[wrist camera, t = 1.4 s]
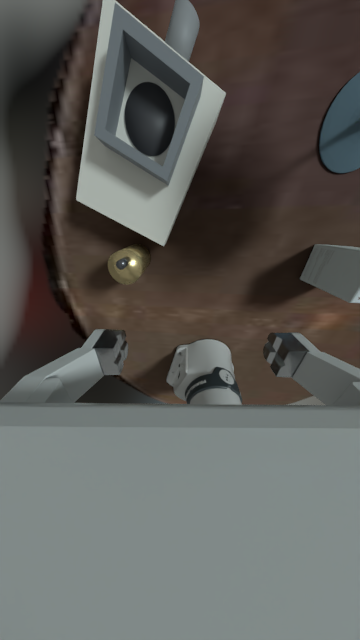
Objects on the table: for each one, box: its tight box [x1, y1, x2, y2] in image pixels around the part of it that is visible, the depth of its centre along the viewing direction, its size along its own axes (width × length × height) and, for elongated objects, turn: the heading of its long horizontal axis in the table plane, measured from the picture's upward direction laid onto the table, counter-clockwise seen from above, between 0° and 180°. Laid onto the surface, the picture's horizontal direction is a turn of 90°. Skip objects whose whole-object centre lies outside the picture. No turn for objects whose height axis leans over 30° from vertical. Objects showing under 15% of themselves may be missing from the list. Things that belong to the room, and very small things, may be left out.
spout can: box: [108, 244, 151, 284], centre depth 28 cm, size 5×5×13 cm
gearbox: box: [76, 0, 226, 246], centre depth 22 cm, size 22×14×9 cm, turn 154°
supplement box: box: [300, 244, 360, 303], centre depth 29 cm, size 7×7×13 cm
